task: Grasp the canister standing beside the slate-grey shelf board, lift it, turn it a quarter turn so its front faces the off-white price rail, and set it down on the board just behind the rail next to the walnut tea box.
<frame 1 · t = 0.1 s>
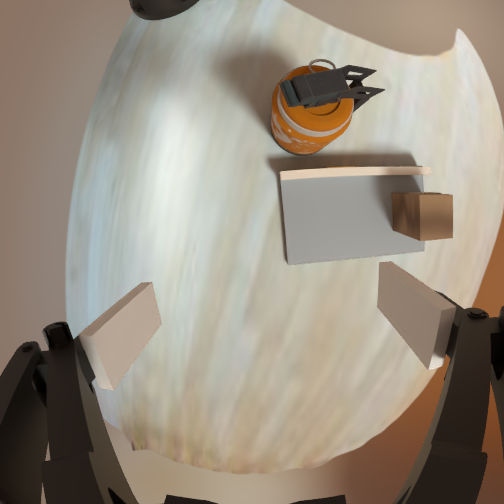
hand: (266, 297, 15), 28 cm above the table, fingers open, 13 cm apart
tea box: (407, 210, 39), point 1 cm above the table, touching shelf board
canister: (306, 126, 38), on the table
shelf board: (358, 212, 41), on the table
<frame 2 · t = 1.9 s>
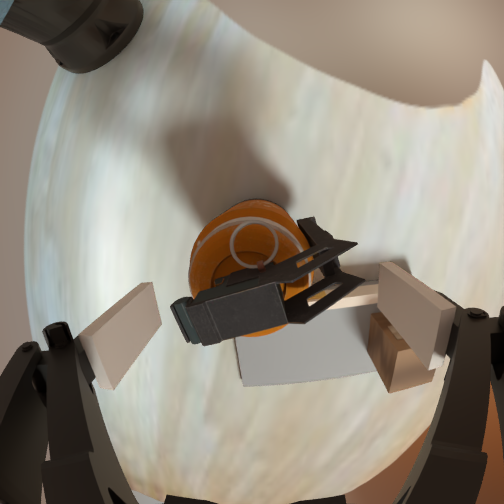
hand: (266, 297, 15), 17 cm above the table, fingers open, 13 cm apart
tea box: (389, 330, 33), point 1 cm above the table, touching shelf board
canister: (265, 234, 32), on the table
shelf board: (327, 334, 34), on the table
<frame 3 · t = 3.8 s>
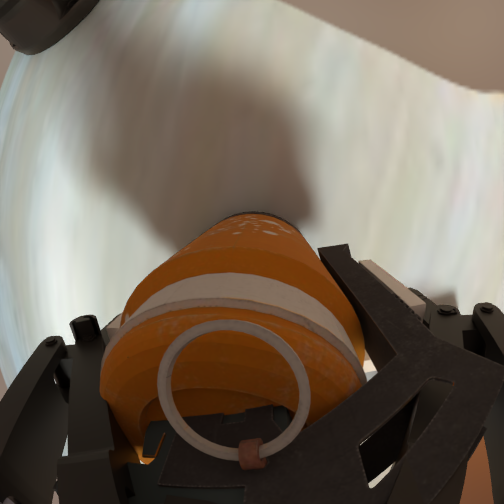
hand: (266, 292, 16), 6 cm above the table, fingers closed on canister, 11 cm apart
canister: (267, 265, 21), on the table, touching gripper
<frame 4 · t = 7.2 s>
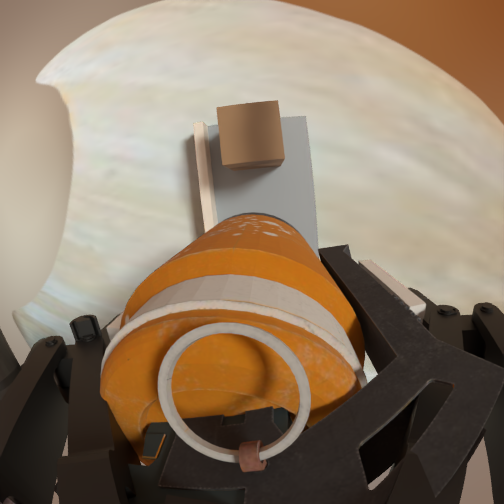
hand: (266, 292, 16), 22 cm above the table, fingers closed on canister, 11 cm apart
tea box: (254, 145, 33), point 1 cm above the table, touching shelf board
canister: (267, 265, 21), point 16 cm above the table, touching gripper
shelf board: (261, 210, 36), on the table
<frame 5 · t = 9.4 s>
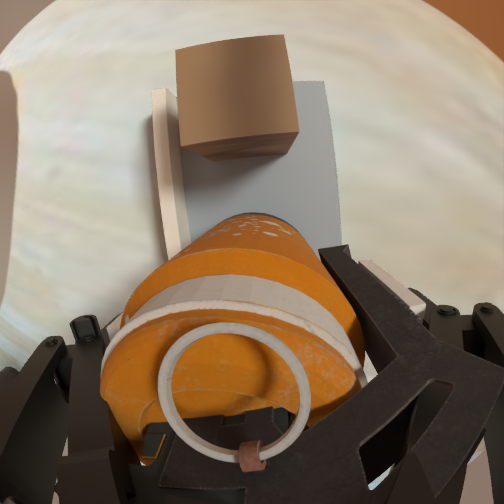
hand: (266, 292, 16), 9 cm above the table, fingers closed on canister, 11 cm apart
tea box: (246, 122, 21), point 1 cm above the table, touching shelf board
canister: (267, 265, 21), point 3 cm above the table, touching gripper
shelf board: (257, 221, 24), on the table
when the fingers open (8 cm above the table, at t = 10.7 s): canister drops 1 cm, resting on shelf board.
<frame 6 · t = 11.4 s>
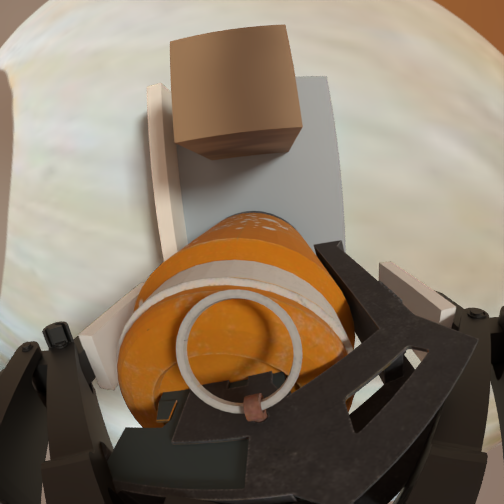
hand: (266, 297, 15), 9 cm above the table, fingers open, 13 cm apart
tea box: (245, 119, 20), point 1 cm above the table, touching shelf board
canister: (266, 261, 22), point 1 cm above the table, touching shelf board
shelf board: (257, 223, 23), on the table
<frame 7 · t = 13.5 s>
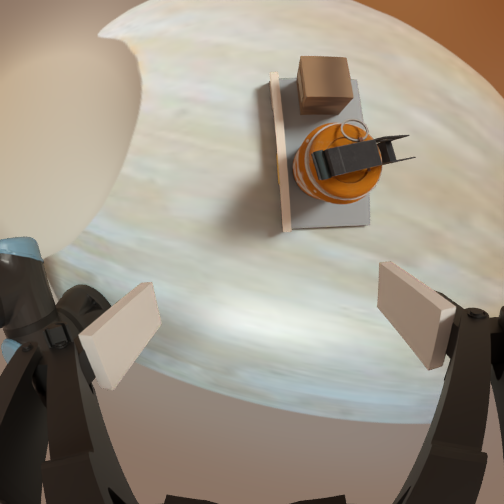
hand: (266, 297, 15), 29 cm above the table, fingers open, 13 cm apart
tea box: (317, 97, 37), point 1 cm above the table, touching shelf board
canister: (327, 168, 39), point 1 cm above the table, touching shelf board
shelf board: (321, 149, 40), on the table
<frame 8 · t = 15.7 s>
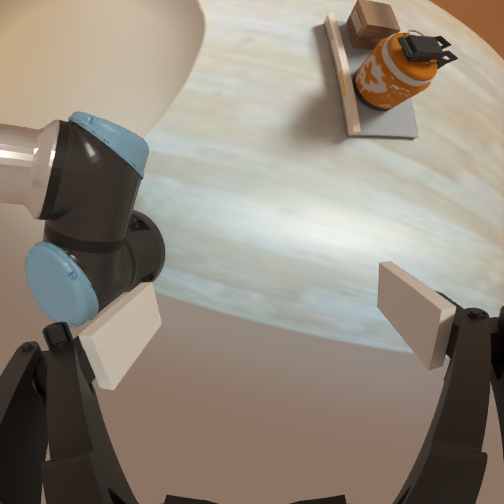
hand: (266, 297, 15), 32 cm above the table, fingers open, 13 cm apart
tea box: (364, 36, 35), point 1 cm above the table, touching shelf board
canister: (379, 88, 38), point 1 cm above the table, touching shelf board
shelf board: (372, 75, 38), on the table
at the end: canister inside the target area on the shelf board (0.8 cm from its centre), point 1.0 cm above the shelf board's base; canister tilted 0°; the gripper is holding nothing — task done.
